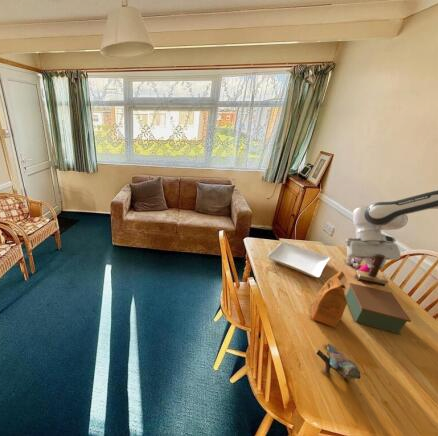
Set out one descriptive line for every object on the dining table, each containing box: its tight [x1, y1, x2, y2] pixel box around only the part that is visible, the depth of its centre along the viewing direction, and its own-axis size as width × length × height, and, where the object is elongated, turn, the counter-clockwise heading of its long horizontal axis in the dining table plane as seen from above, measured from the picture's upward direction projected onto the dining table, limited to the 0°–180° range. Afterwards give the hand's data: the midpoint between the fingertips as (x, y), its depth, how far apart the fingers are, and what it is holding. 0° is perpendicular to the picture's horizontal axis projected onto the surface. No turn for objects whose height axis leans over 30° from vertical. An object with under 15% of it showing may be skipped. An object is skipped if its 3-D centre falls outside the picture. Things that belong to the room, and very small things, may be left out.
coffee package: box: [310, 270, 348, 328], centre depth 97 cm, size 10×12×22 cm
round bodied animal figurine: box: [344, 254, 364, 269], centre depth 132 cm, size 7×12×8 cm, turn 146°
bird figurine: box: [315, 343, 362, 380], centre depth 78 cm, size 13×10×20 cm
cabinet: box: [345, 282, 412, 334], centre depth 101 cm, size 16×17×8 cm
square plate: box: [266, 241, 331, 279], centre depth 138 cm, size 27×27×4 cm
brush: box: [355, 254, 389, 287], centre depth 105 cm, size 10×5×14 cm, turn 64°
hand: (376, 268), depth 104 cm, fingers closed on brush, 3 cm apart
